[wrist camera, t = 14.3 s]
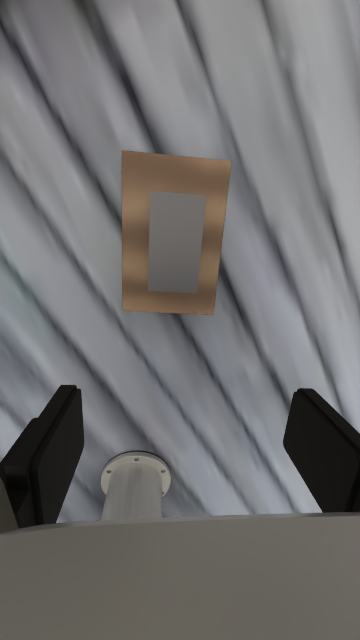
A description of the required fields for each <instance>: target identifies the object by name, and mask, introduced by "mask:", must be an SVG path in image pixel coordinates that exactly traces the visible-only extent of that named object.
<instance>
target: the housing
mask: <svg viewBox="0 0 360 640" xmlns="http://www.w3.org/2000/svg"><path fill="white" fill-rule="evenodd" d="M205 204H206V196H202V195H190V194H179V193H168V192H156V191H150V225H149V260H148V291H161V292H180V293H197V289H198V278H199V267H200V257H201V246H202V236H203V225H204V214H205Z"/></svg>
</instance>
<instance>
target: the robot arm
mask: <svg viewBox="0 0 360 640" xmlns="http://www.w3.org/2000/svg"><path fill="white" fill-rule="evenodd" d="M283 445H284V448H285V450H286V452H287V453H288V455H289V457H290V458H291V460H292V462H293V463H294V465H295V467H296V468H297V470H298V472H299V473H300V475H301V477H302V478H303V480H304V482H305V483H306V485H307V487H308V488H309V490H310V492H311V493H312V495H313V497H314V498H315V500H316V502H317V503H318V505H319V507H320V508H321V510H322V512H323V513H291V514H256V515H224V516H193V517H167V518H162V497H163V496H164V495H165V494H166V493H167V491H168V489H169V487H170V483H171V474H170V470H169V468H168V466H167V465H166V463H165V462H164V461H163V460H162V459H160V458H159V457H157V456H155V455H152V454H150V453H145V452H128V453H125V454H121V455H119V456H117V457H115V458H113V459H112V460H111V461H109V462H108V463H107V464H106V466H105V468H104V469H103V472H102V476H101V487H102V490H103V492H104V493H105V495H106V499H105V504H104V508H103V513H102V518H101V520H98V521H80V522H64V523H56V521H57V518H58V516H59V513H60V510H61V508H62V505H63V502H64V499H65V497H66V494H67V491H68V489H69V486H70V483H71V481H72V478H73V475H74V473H75V470H76V467H77V465H78V462H79V459H80V456H81V454H82V451H83V447H84V430H83V413H82V396H81V389H77V387H76V385H61V386H60V387H59V388H58V390H57V391H56V393H55V394H54V395H53V397H52V398H51V400H50V401H49V403H48V404H47V406H46V407H45V408H44V410H43V411H42V413H41V414H40V416H39V417H38V418H34V419H32V420H31V421H30V422H29V424H28V425H27V427H26V428H25V429H24V431H23V432H22V434H21V435H20V436H19V438H18V439H17V440H16V442H15V443H14V445H13V446H12V447H11V449H10V450H9V451H8V453H7V454H6V456H5V457H4V458H3V460H2V461H1V463H0V640H360V433H358V432H357V431H356V430H355V429H354V428H353V427H352V426H351V425H350V424H349V423H348V422H347V421H346V420H345V419H344V418H343V417H342V416H341V415H340V414H339V413H338V412H337V411H336V410H335V409H334V408H333V407H332V406H330V405H329V404H328V403H327V402H326V401H325V400H324V399H323V398H322V397H321V396H320V395H319V394H318V393H317V392H316V391H315V390H314V389H308V388H300V389H298V390H297V392H294V394H293V398H292V403H291V407H290V412H289V416H288V421H287V425H286V430H285V434H284V439H283Z"/></svg>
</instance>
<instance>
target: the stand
mask: <svg viewBox="0 0 360 640" xmlns="http://www.w3.org/2000/svg"><path fill="white" fill-rule="evenodd" d="M230 170H231V161H223V160H213V159H203V158H193V157H183V156H173V155H163V154H153V153H143V152H134V151H124V150H122V297H123V311H137V312H159V313H180V314H201V315H213V312H214V303H215V295H216V287H217V278H218V270H219V262H220V253H221V245H222V237H223V228H224V220H225V211H226V203H227V195H228V186H229V178H230ZM150 191H156V192H168V193H179V194H190V195H202V196H206V204H205V214H204V225H203V236H202V246H201V257H200V267H199V278H198V289H197V293H180V292H161V291H148V260H149V225H150Z"/></svg>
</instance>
